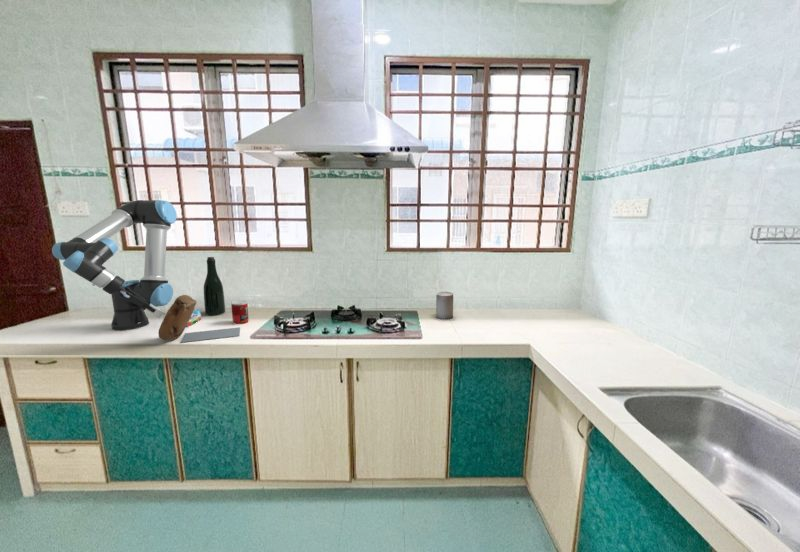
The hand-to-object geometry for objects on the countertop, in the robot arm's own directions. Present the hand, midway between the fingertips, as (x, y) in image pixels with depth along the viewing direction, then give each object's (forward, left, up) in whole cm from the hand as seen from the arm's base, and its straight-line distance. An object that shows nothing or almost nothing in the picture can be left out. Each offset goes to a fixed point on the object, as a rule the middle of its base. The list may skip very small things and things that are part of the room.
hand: (161, 314), depth 155 cm
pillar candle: (+13, +138, -12) cm, 139 cm away
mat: (-1, +19, -12) cm, 23 cm away
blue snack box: (-24, +8, -13) cm, 28 cm away
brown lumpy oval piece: (0, +1, -11) cm, 11 cm away
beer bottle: (-41, +17, -12) cm, 46 cm away
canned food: (-18, +31, -12) cm, 38 cm away
